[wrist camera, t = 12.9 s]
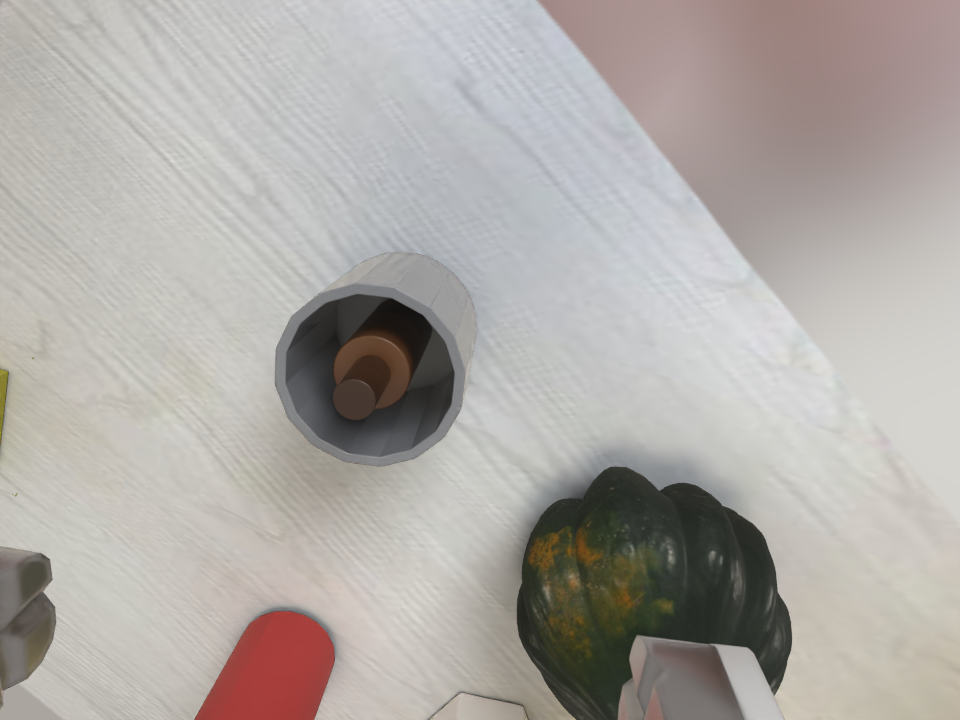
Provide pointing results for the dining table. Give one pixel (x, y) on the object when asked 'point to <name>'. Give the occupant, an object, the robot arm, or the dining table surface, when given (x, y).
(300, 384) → the steel cup
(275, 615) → the beer can
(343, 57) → the dining table surface
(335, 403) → the brown bottle
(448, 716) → the jar
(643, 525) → the squash
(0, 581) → the robot arm
